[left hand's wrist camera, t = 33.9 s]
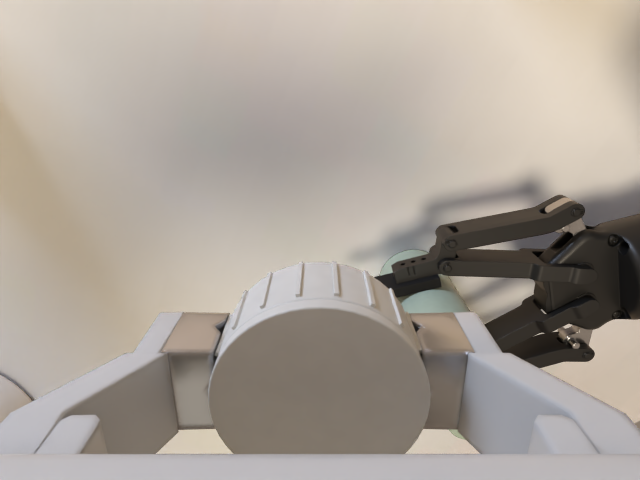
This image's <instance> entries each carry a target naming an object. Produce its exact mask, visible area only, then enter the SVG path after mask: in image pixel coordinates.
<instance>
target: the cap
mask: <svg viewBox="0 0 640 480" xmlns="http://www.w3.org/2000/svg"><path fill="white" fill-rule="evenodd" d="M421 353H422V349H421V346H420V343H419V340H418V338H417V335H416V331H415V329H414V326H413V323H412V321H411V318H410V315H409V312H405V311H404V309H403V307H402V305H401V304H400V302H399V301H398V299H397V298H396V296H395V294H394V291H393V290H392V289H391V288H390V289H388V288H387V287H386V286H385V285H384V284H382V283H381V282H380V281H379V280H377V279H375V278H374V277H372V276H371V275H369V274H368V272H367V271H365V270H364V272H363V271H361V270H358V269H355V268H352V267H349V266H346V265H341V264H337V262H334V261H333V262H332V263H327V262H311V263H303V262H299V264H297V265H293V266H290V267H286V268H283V269H281V270H278V271H276V272H274V273H272V272H269V273H268V274H267V277H265V278H263V279H262V280H260V281H259V282H258V283H256V284H255V285H254V286H253V287H252V288H251V289H250V290H249V291H246V290H245V291H244V292H243V295H242V298H241V300H240V302H239V303H238V305H237V307H236V308H235V310H234V312H233V314H232V315H230V314H229V317H228V320H227V322H226V325H225V328H224V330H223V333H222V336H221V339H220V341H219V344H218V347H217V349H216V352H215V356H217V359H216V362H215V365H214V368H213V371H212V374H211V377H210V382H209V388H208V404H209V410H210V415H211V418H212V421H213V424H214V426H215V428H216V430H217V432H218V434H219V436H220V437H221V439H222V440H223V442H224V443H225V444H226V446H227V447H228V448H229V449H230V450H231V451H232V452H233V453H234V454H405V453H406V452H407V451H408V450H409V449H410V448H411V446H412V445H413V444H414V443H415V441H416V440H417V439H418V437H419V435H420V433H421V431H422V430H423V428H424V425H425V422H426V420H427V417H428V412H429V408H430V395H431V393H430V384H429V379H428V376H427V372H426V369H425V366H424V363H423V361H422V358H421V355H420V354H421Z"/></svg>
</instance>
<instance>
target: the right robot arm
mask: <svg viewBox="0 0 640 480" xmlns="http://www.w3.org/2000/svg"><path fill="white" fill-rule="evenodd" d="M584 212H585V209H584V207H583V205H581V204H579V203H577V202H575V201H573V200H571V199H569V198H567V197H565V196H563V195H557V196H555V197H553V198H551V199H549V200H547V201H545V202H543V203H542V204H540V205H538V206H536V207H534V208H528V209H523V210H518V211H513V212H508V213H502V214H497V215H492V216H487V217H482V218H477V219H471V220H466V221H461V222H456V223H451V224H445V225H441V226H439V227H438V228H437V230H436V236H437V238H436V244H435V245H434V246H432V247H431V248H430V251H429V253H428V254H425V255H421V256H417V257H413V258H410V259H405V260H401V261H397V262H395V263H394V264H392V265H391V267H392V271H393V273H389V274H385V275H381V276H377V277H374V278H375V279H377V280H379V281H380V282H381V283H382V284H384V285H385V286H386V287H387V288H388V289H390V288H391V289H392V290H393V291H394V294H395V296H396V298H398V297H402V296H406V295H410V294H414V293H418V292H422V291H426V290H431V289H435V288H439V287H442V285H441V280H440V277H439V274H442V275H445V276H473V277H505V278H530V279H533V280H534V281H535V288H534V295H532V296H530V297H528V298H526V299H525V300H524V301H523V302H522V305H521V306H519V307H517V308H516V309H514V310H512V311H510V312H508V313H506V314H504V315H502V316H500V317H498V318H496V319H494V320H492V321H491V322H489V323H487V324H485V327H486V328H487V330H488V331H489V333H490V334H491V336H492V337H493V339H494V340H495V342H496V343H497V345H498V346H499V348H500V349H501V351H502V352H503V353H511V354H513V355H515V356H517V357H519V358H521V359H522V360H524V361H526V362H528V363H530V364H532V365H534V366H536V367H538V368H542V367H546V366H550V365H553V364H557V363H560V362H564V361H568V362H586V361H590V360H591V359H593V357H594V355H595V353H594V351H593V350H592V349H591V348H590V347H589V341H590V338H591V334H592V330H593V329H597V328H599V327H601V326H602V325H604V324H605V323H607V322H609V321H611V320H613V319H633V320H635V319H640V214H637V215H633V216H629V217H625V218H620V219H616V220H612V221H608V222H604V223H601V224H599V225H597V226H595V227H591V226H586V225H584V222H583V220H582V218H581V217H582V216H583V215H584ZM554 231H555V232H557V233H562V232H564V233H563V234H562V235H561V236H560V237H559V238H558V239H557V240H556V241H555V242H554V243H553V244H551V245H550V246H549V247H548V248H547V249H520V250H519V251H512V250H481V249H469V248H474V247H479V246H485V245H490V244H495V243H501V242H506V241H511V240H517V239H522V238H527V237H533V236H538V235H543V234H547V233H551V232H554ZM541 309H543V310H544V311H545V313H546V314H544V313H543V312H542V311H541ZM567 324H572V326H571V327H569V328H566V329H565V328H564V327H563V326H565V325H567ZM557 329H558V332H553V331H555V330H557ZM542 332H543V333H544V334H540V335H537V334H539V333H542ZM535 335H537V336H535Z"/></svg>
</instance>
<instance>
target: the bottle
mask: <svg viewBox="0 0 640 480" xmlns="http://www.w3.org/2000/svg"><path fill="white" fill-rule="evenodd" d="M425 254H428V252H425V251H421V250H406V251H403V252H400V253H398V254H396V255H394V256H393V257H391V258H390V259H389V260H388V261H387V262H386V263H385V265H384V266H383V268H382V270H381V273H380V276H381V275H385V274H389V273H393V271H392V267H391V265H392V264H394V263H395V262H397V261H401V260H405V259H410V258H413V257H417V256H421V255H425ZM439 277H440V280H441V285H442V287H439V288H435V289H431V290H426V291H422V292H418V293H414V294H410V295H406V296H402V297H398V298H397V299H398V301H399V302H400V304H401V305H402V307H403V309H404V311H405V312H409V313H445V312H453V313H454V312H470V311H469V309H468V307H467V306H466V304H465V303H464V301H463V299H462V298H461V296H460V294H459V293H458V291H457V290H456V288H455V286H454V285H453V283H452V281H451V280H450V278H449V277H448V276H445V275H442V274H439ZM449 430H450V429H449ZM450 432H451V433H452V434H453V435H455V436H456V437H458V438H461V439H465V438H464V437H463V436H462V435H461V434H460V433H459V432H458V430H450ZM465 440H466V439H465Z"/></svg>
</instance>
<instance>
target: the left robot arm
mask: <svg viewBox="0 0 640 480" xmlns="http://www.w3.org/2000/svg"><path fill="white" fill-rule="evenodd" d="M229 314H230V313H198V312H186V313H184V312H163V313H160V314H159V315H158V316H157V318H156V319H155V321H154V322H153V324H152V325H151V327H150V328H149V330H148V331H147V333H146V334H145V336H144V337H143V339H142V340H141V342H140V343H139V345H138V346H137V348H136V349H135V351H134V352H133V353H125V354H123V355H121V356H119V357H117V358H115V359H113V360H111V361H109V362H107V363H106V364H104V365H102V366H100V367H98V368H96V369H94V370H92V371H90V372H88V373H86V374H84V375H82V376H80V377H79V378H77V379H75V380H73V381H71V382H69V383H67V384H65V385H63V386H61V387H59V388H57V389H55V390H53V391H52V392H50V393H48V394H46V395H44V396H42V397H40V398H38V399H36V400H34V401H32V400H31V399H30V398H29V396H28V395H27V394H26V393H25V392H24V391H23V390H22V389H20V388H19V387H18V386H17V385H16V384H14V383H13V382H11V381H10V380H8V379H7V378H5V377H3V376H2V375H0V480H640V430H639V428H638V427H637V426H636V425H635V424H634V423H633V422H632V420H631V419H630V418H629V417H628V416H627V415H626V414H625V413H623V412H621V411H619V410H618V409H616V408H614V407H612V406H610V405H608V404H606V403H604V402H602V401H600V400H599V399H597V398H595V397H593V396H591V395H589V394H587V393H585V392H583V391H581V390H580V389H578V388H576V387H574V386H572V385H570V384H568V383H566V382H564V381H562V380H561V379H559V378H557V377H555V376H553V375H551V374H549V373H547V372H545V371H543V370H541V369H540V368H538V367H536V366H534V365H532V364H530V363H528V362H526V361H524V360H522V359H521V358H519V357H517V356H515V355H513V354H511V353H503V352H502V351H501V349H500V348H499V346H498V345H497V343H496V342H495V340H494V339H493V337H492V336H491V334H490V333H489V331H488V330H487V328H486V327H485V325H484V324H483V322H482V321H481V319H480V318H479V316H478V315H477V313H475V312H454V313H453V312H445V313H409V315H410V318H411V321H412V323H413V326H414V329H415V331H416V335H417V338H418V340H419V343H420V346H421V349H422V353H421V354H420V355H421V358H422V361H423V363H424V366H425V369H426V372H427V376H428V379H429V384H430V393H431V395H430V408H429V412H428V417H427V420H426V422H425V425H424V428H423V429H450V430H458V432H459V433H460V434H461V435H462V436H463V437H464V438H465V439H466V440H467V441H468V442H469V443H470V444H471V445H472V446H473V447H474V448H475V449H476V450H477V451H478V452H479V453H480V454H156V453H157V452H158V451H159V450H160V449H161V448H162V447H163V446H164V445H165V444H166V443H167V442H168V441H169V440H170V439H172V438H173V437H174V436H175V435H176V434H177V433H178V430H185V429H216V428H215V426H214V424H213V421H212V418H211V415H210V410H209V404H208V388H209V382H210V377H211V374H212V371H213V368H214V365H215V362H216V359H217V356H215V352H216V349H217V347H218V344H219V341H220V339H221V336H222V333H223V330H224V328H225V325H226V322H227V320H228V317H229Z"/></svg>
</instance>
